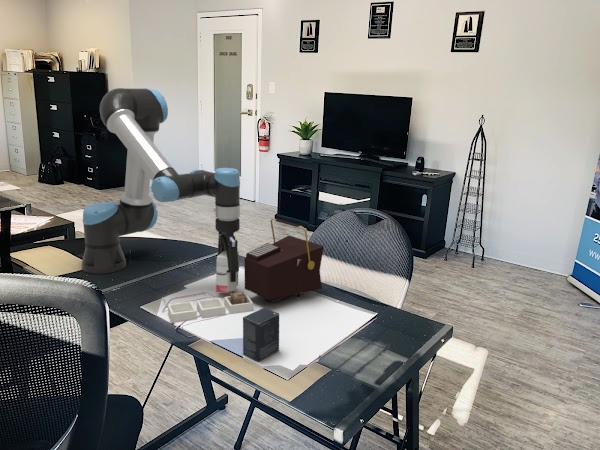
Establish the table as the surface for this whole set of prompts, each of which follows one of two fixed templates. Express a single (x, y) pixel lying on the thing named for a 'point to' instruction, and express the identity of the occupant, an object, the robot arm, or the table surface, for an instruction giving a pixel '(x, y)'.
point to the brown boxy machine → (283, 267)
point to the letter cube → (238, 298)
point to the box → (260, 334)
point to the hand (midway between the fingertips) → (227, 284)
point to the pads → (164, 302)
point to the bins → (206, 309)
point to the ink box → (223, 273)
